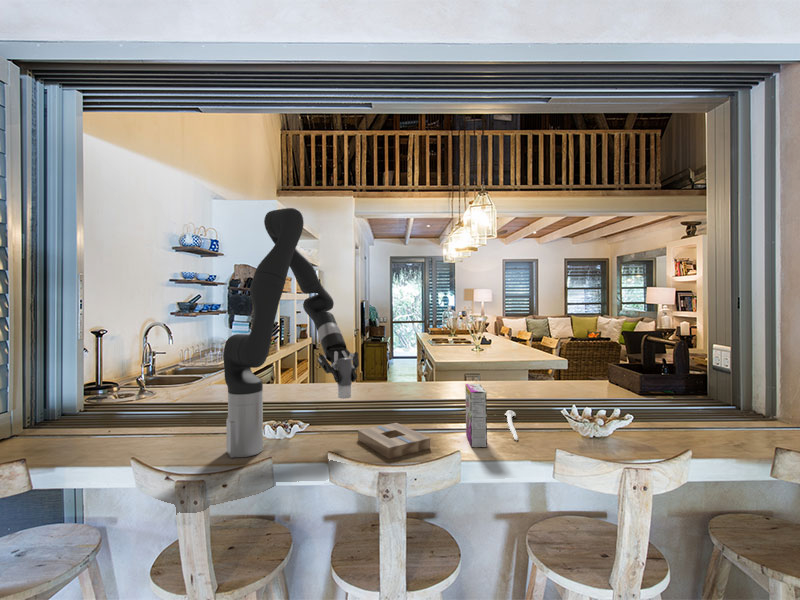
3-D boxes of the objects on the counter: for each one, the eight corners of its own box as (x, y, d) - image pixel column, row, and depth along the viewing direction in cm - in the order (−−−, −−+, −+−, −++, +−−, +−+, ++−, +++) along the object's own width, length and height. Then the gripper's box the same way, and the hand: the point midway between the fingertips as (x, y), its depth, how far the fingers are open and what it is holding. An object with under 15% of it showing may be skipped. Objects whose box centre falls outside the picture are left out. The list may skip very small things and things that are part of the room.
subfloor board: (388, 458, 111) (388, 447, 111) (358, 440, 126) (358, 429, 126) (430, 448, 118) (430, 437, 118) (396, 431, 134) (396, 422, 134)
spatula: (526, 443, 124) (526, 433, 124) (512, 442, 124) (512, 433, 124) (515, 417, 151) (515, 409, 151) (503, 416, 152) (503, 409, 152)
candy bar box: (464, 435, 130) (464, 383, 130) (480, 435, 130) (480, 383, 130) (470, 448, 119) (470, 391, 119) (487, 448, 118) (487, 391, 118)
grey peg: (341, 399, 126) (341, 360, 126) (335, 396, 130) (335, 358, 130) (354, 397, 128) (354, 359, 128) (347, 394, 132) (347, 357, 132)
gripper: (314, 332, 131) (329, 376, 121) (354, 331, 139) (371, 371, 129) (308, 347, 136) (322, 391, 126) (347, 345, 144) (363, 385, 133)
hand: (347, 381), depth 127 cm, fingers closed on grey peg, 4 cm apart
